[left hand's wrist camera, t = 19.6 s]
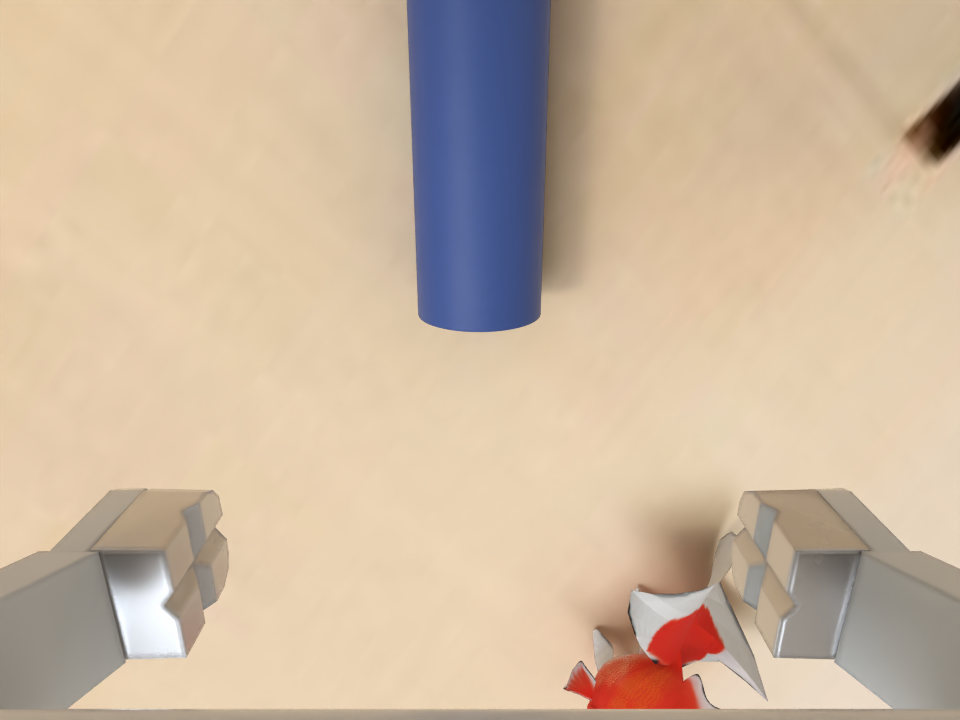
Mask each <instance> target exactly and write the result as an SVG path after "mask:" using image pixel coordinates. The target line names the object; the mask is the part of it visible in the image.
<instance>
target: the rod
mask: <svg viewBox="0 0 960 720" xmlns="http://www.w3.org/2000/svg"><path fill="white" fill-rule="evenodd" d="M550 8H551V0H407V16H408V44H409V71H410V99H411V126H412V154H413V181H414V208H415V236H416V263H417V291H418V315H419V317H420V319H421V320H422V321H424V322H426V323H427V324H430V325H432V326H435V327H439V328H443V329H448V330H455V331H465V332H493V331H503V330H510V329H515V328H519V327H523V326H526V325H529V324H531V323H533V322H535V321H536V320H537V319H538V318H539V317H540V314H541V284H542V253H543V222H544V192H545V161H546V130H547V100H548V69H549V39H550Z"/></svg>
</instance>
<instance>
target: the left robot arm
mask: <svg viewBox="0 0 960 720" xmlns="http://www.w3.org/2000/svg"><path fill="white" fill-rule="evenodd" d="M222 515H223V514H222V509H221V504H220V499H219V496H218V495H217V494H216V493H215V492H214V491H213V490H179V489H149V490H148V489H146V488H145V489H116V490H111V491H109V492H108V493H107V494H106V495H105V496H104V497H103V498H102V499H101V500H100V501H99V502H98V503H97V504H96V505H95V506H94V507H93V508H92V509H91V510H90V511H89V512H88V513H87V514H86V515H85V516H84V517H83V518H82V519H81V520H80V521H79V522H78V523H77V524H76V525H75V527H74V528H73V529H72V530H71V531H70V532H69V533H68V534H67V535H66V536H65V537H64V538H63V539H62V540H61V541H60V542H59V543H58V544H57V545H56V546H55V547H54V548H53V549H52V550H51V551H39V552H37V553H34V554H32V555H30V556H28V557H26V558H23V559H21V560H19V561H17V562H15V563H12V564H10V565H8V566H6V567H3V568H1V569H0V720H960V569H959V568H956V567H954V566H952V565H950V564H948V563H945V562H943V561H941V560H939V559H937V558H934V557H932V556H930V555H928V554H926V553H923V552H921V551H909V550H908V549H907V548H906V547H905V546H904V545H903V544H902V543H901V542H900V541H899V540H898V539H897V538H896V536H895V535H894V534H893V533H892V532H891V531H890V530H889V529H888V528H887V527H886V526H885V525H884V524H883V523H882V522H881V521H880V520H879V519H878V518H877V517H876V516H875V515H874V514H873V513H872V512H871V511H870V510H869V509H868V508H867V507H866V506H865V505H864V504H863V503H862V502H861V501H860V500H859V499H858V498H857V497H856V496H855V495H854V494H853V493H852V492H851V491H848V490H846V489H843V488H835V489H810V490H773V491H744V493H743V495H742V497H741V499H740V503H739V508H738V514H737V515H738V516H739V518H740V520H741V521H742V523H743V524H744V526H745V528H744V529H743V530H742V531H741V532H740V533H739V534H738V535H737V536H736V537H735V538H734V539H733V546H732V554H731V563H732V574H733V578H734V582H735V585H736V588H737V590H738V592H739V594H740V596H741V598H742V600H743V601H744V602H745V603H747V604H748V605H750V606H751V607H753V608H754V609H756V610H757V613H756V619H755V624H756V626H757V628H758V630H759V632H760V633H761V635H762V637H763V639H764V641H765V642H766V644H767V646H768V648H769V650H770V652H771V653H772V655H773V657H774V658H806V659H835V661H834V662H835V663H836V664H837V665H839V666H840V667H841V668H842V669H844V670H845V671H846V672H847V673H849V674H850V675H851V676H852V677H854V678H855V679H856V680H858V681H859V682H860V683H861V684H863V685H864V686H865V687H866V688H868V689H869V690H870V691H871V692H873V693H874V694H875V695H876V696H878V697H879V698H880V699H881V700H883V701H884V702H885V703H886V704H888V705H889V706H890V707H891V708H893V709H67V708H69V707H70V706H71V705H72V704H74V703H75V702H76V701H78V700H79V699H80V698H81V697H83V696H84V695H85V694H86V693H88V692H89V691H90V690H91V689H93V688H94V687H95V686H96V685H98V684H99V683H100V682H101V681H103V680H104V679H105V678H107V677H108V676H109V675H110V674H112V673H113V672H114V671H115V670H117V669H118V668H119V667H120V666H122V665H123V664H124V663H125V662H126V661H125V659H153V658H186V657H187V655H188V654H189V652H190V650H191V648H192V646H193V644H194V643H195V641H196V639H197V637H198V635H199V633H200V632H201V630H202V628H203V626H204V624H205V619H204V613H203V610H204V609H206V608H207V607H209V606H210V605H212V604H213V603H215V602H216V601H217V600H218V598H219V596H220V594H221V592H222V590H223V588H224V585H225V581H226V577H227V572H228V566H229V552H228V545H227V539H226V538H225V537H224V536H223V535H222V534H221V533H220V532H219V531H218V530H217V529H216V528H215V526H216V524H217V523H218V521H219V520H220V518H221V516H222Z"/></svg>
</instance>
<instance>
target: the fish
mask: <svg viewBox="0 0 960 720" xmlns="http://www.w3.org/2000/svg"><path fill="white" fill-rule="evenodd" d="M735 537H736V535H735V534H734V533H733V532H730V533H728V534H727V535H725V536H724V537H723V538H722V539H720V541H719V544H718V547H717V550H716V553H715V557H714V561H713V565H712V575H711V579H710V582H709V584H708V586H707V588H705V589H702V590H699V591H693V592H686V593H680V594H650V593H644V592H640V591H639V589H638V588H636V591H633V590H632V591H631V597H630V602H629V608H628V615H629V618H630V621H631V624H632V627H633V630H634V633H635V636H636V638H637V640H638V642H639V644H640V648H639V652H638V654H634V653H632V654H624V655H620V656H617V657H614V658H613V647H612V645H611V644H610V642H609V641H608V640H607V639H606V638H605V637H604V636H603V635H602V634H601V633H600V631H599V630H597V629H595V630H594V631H593V644H594V656H595V662H596V666H597V670H598V673H597V675H596V677H595V678H594V677H593V676H592V674H591V673H590V672H589V670H588V669H587V668H586V666H585V665H584V663H583V662H582V661H580V662H579V663H578V664H577V665H576V666H575V668H574V669H573V670H572V672H571V675H570V678H569V681H568V683H567V685H566V686H565V687H564V688H563V689H565V690H567V691H571V692H573V693H576V694H579V695H581V696H583V697H585V698H587V699H589V700H590V702H589V704H588V706H587V709H719V708H717V707H714V706H713V705H712V704H710V702H709V701H708V700H707V698H706V695H705V692H704V688H703V684H702V681H701V678H700V676H699V675H698V674H695V675H692V676H691V677H689V678H687V679H686V680H684V681H683V674H682V667H684V666H686V665H689V664H691V663H694V662H696V661H705V662H713V661H720V662H722V663H723V664H724V665H726V666H727V667H728V668H729V669H731V670H732V671H733V672H734V673H736V674H737V675H738V676H740V677H741V678H742V679H743V680H745V681H746V682H747V683H748V684H749V685H750V686H751V687H753V688H754V689H755V690H756V691H757V692H758V693H759V694H760V695H761V696H762V697H763V698H765V699H766V700H767V697H766V694H765V690H764V687H763V684H762V681H761V677H760V674H759V671H758V667H757V664H756V661H755V658H754V655H753V653H752V650H751V648H750V646H749V644H748V642H747V640H746V637H745V635H744V633H743V631H742V629H741V627H740V624H739V622H738V620H737V618H736V616H735V614H734V611H733V609H732V607H731V605H730V603H729V601H728V599H727V597H726V595H725V593H724V590H723V588H722V586H721V583H720V581H721V580H722V579H723V577H724V576H725V575H726V573H727V572H728V571H729V569H730V568H731V566H732V563H731V554H732V546H733V539H734V538H735ZM767 701H768V700H767Z"/></svg>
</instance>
